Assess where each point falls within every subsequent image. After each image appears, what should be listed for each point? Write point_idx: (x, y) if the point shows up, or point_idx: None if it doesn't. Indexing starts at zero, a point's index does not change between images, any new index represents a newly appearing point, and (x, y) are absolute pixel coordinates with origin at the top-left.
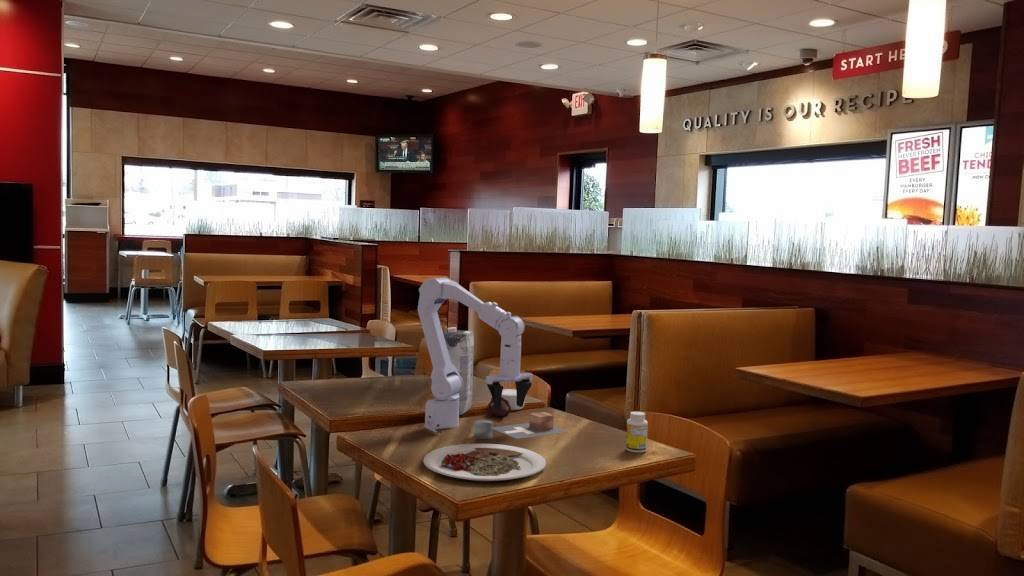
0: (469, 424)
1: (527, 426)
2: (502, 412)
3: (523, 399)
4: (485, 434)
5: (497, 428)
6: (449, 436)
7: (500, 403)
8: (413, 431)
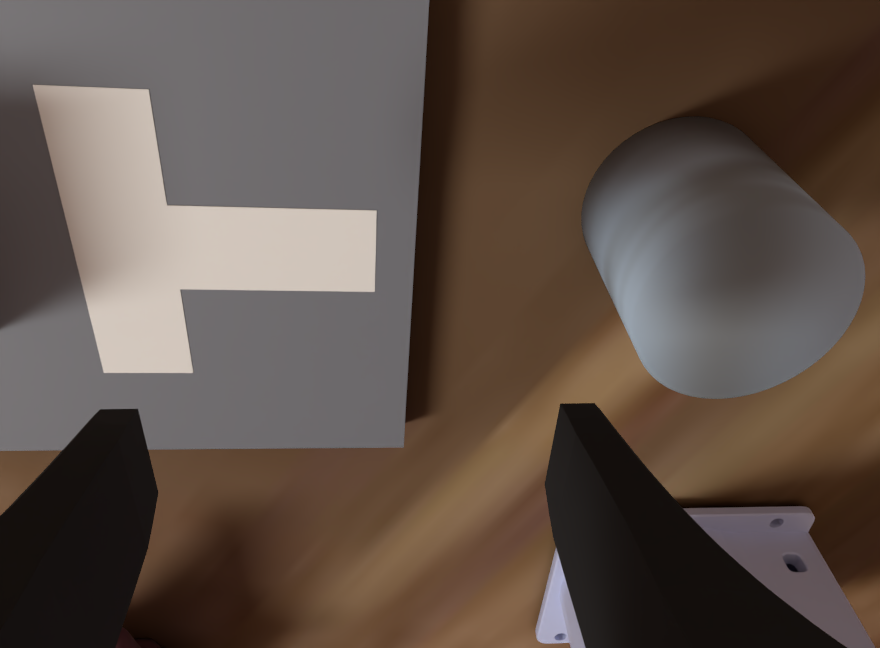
0: (428, 596)
1: (10, 353)
2: (138, 645)
3: (51, 494)
4: (762, 159)
5: (358, 401)
6: (797, 415)
7: (598, 460)
8: (870, 578)
